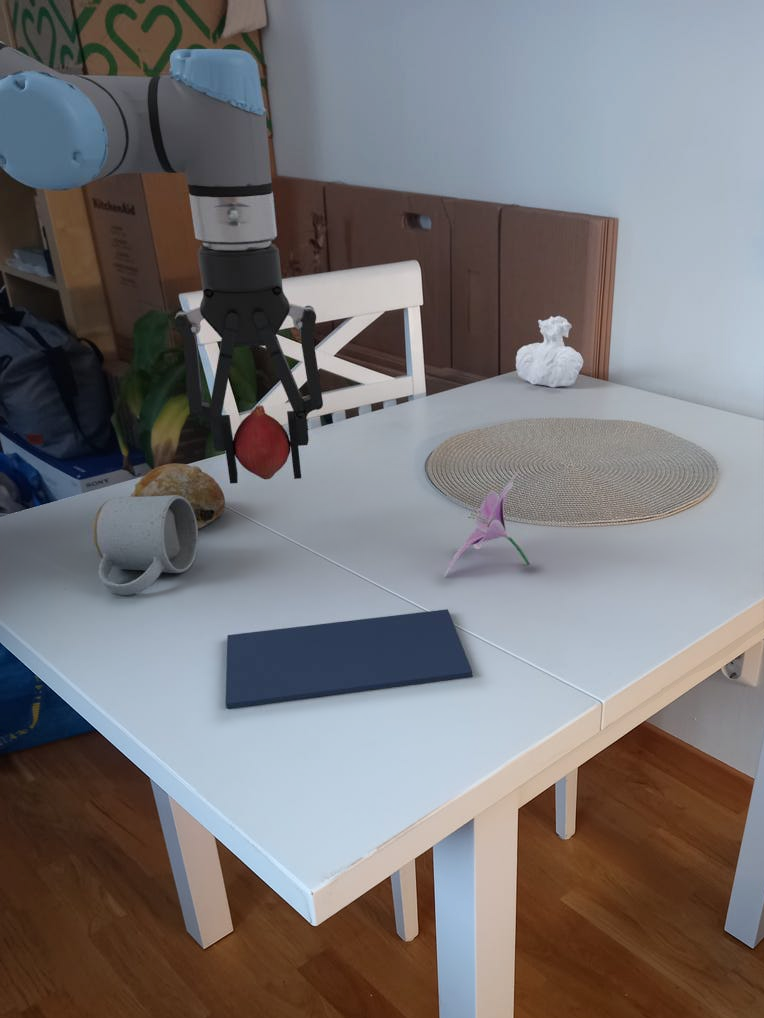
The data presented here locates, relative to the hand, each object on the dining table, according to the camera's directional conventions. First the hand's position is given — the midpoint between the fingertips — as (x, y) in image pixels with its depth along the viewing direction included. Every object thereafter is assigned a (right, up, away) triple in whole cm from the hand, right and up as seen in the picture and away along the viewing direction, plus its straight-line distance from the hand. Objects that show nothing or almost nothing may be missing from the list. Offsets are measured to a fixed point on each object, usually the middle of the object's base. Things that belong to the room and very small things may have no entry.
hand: (265, 476), depth 99 cm
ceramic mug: (-11, -11, -5) cm, 16 cm away
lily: (+24, -10, -4) cm, 26 cm away
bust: (+35, +25, +54) cm, 68 cm away
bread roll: (-12, -4, +7) cm, 14 cm away
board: (+11, -19, -19) cm, 29 cm away
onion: (0, 0, 0) cm, 0 cm away
